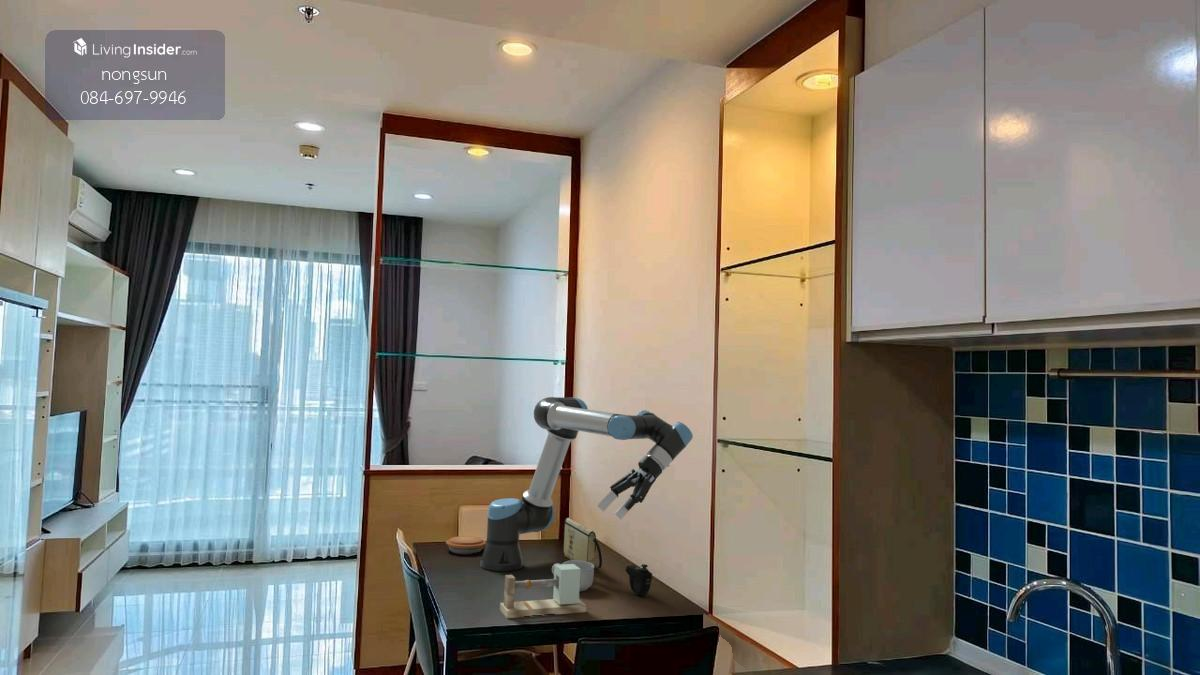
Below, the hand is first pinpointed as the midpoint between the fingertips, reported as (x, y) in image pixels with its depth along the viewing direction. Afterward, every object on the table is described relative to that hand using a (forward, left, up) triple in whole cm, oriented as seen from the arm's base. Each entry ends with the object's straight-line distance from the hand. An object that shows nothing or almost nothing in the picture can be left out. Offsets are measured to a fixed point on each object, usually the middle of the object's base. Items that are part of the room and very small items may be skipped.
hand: (608, 512), depth 230 cm
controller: (+3, +18, -28) cm, 33 cm away
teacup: (-17, +10, -28) cm, 35 cm away
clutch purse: (-32, +39, -28) cm, 58 cm away
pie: (-77, +28, -28) cm, 87 cm away
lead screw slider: (-11, -16, -28) cm, 34 cm away
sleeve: (-7, -11, -26) cm, 29 cm away
